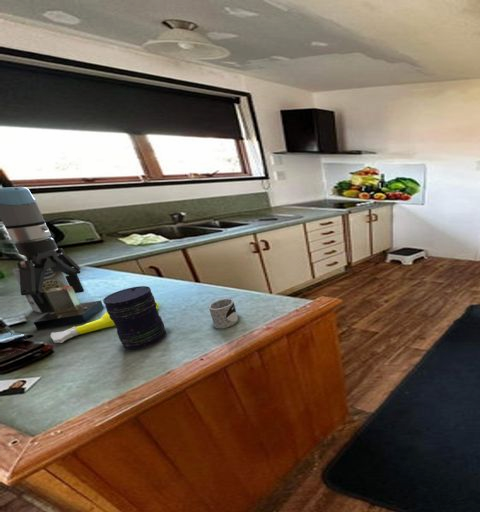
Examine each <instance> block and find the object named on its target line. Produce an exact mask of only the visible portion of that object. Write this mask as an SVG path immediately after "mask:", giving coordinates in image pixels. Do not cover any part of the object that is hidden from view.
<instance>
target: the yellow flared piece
mask: <svg viewBox="0 0 480 512" xmlns="http://www.w3.org/2000/svg"><path fill="white" fill-rule="evenodd" d="M155 302H156V308H157V310H159V308H160V306H159V303H158V302H157V301H156V300H155ZM113 327H116V326H115V324H114V322H113V320H111V318H110V317H109V314H108V312H107V311H106V312H105V313H103V315H102V316H101V317H100V318H98V319H96V320H93V321H90V322H87V323H84V324H83V325H82V324H81V325H77V326H72V327H70V328H68V329H66V330H64V331H57V332H54V331H53V332H51V333H50V338H51V340H52V341H53V343H56V344H57V343H58V344H62V343H64V342H65V341H67V340H69V339H71V338H74V337H76V336H79V335H83V334H87V333H90V332H95V331H98V330H99V331H100V330H103V329H108V328H113Z"/></svg>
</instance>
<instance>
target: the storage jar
mask: <svg viewBox="0 0 480 512" xmlns="http://www.w3.org/2000/svg"><path fill="white" fill-rule="evenodd" d="M155 299H156V298H155V296H154V294H153V292H152V290H151V287H150V286H145V285H141V286H139V285H138V286H132V287H128V288H123V289H121V290H117V291H115V292H112V293H111V294H108V295H107V296H105V297H104V298H103V299H102V303H103V305H104V307H105V309H106V312H108V314H109V317H110V318H111V320H113V322H114V324H115V326H114V327H115V328H116V334H117V336H118V339H119V342H121V345H123V346H122V347H123V349H124V351H126V352H127V351H128V352H134V351H140V350H144V349H147V348H150V347H152V346H154V345H156V344H158V343H159V342H161V341H162V340H163V339H165V338H166V336H167V334H168V333H167V330H166V327H165V323H164V321H163V319H162V316H160V314H159V311H158V309H157V308H156V302H157V301H156V300H155ZM155 301H156V302H155Z"/></svg>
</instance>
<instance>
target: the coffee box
mask: <svg viewBox="0 0 480 512" xmlns="http://www.w3.org/2000/svg"><path fill="white" fill-rule="evenodd" d="M11 272H12V273H13V274H14V277H15V279H16V280H17V282H18V285H20V271H19V268H13V269H11ZM66 286H69V284H68V282H67V279H66V277H65V275H64V273H63V272H61V271H59V270H58V269H56V268H54V267H51V268H49V269H48V270H47V272H45V276H44V282H43V287H42V292H44V291H45V292H46V291H48V290H49V289H54V288H62V287H66ZM27 291H28V290H27ZM24 296H25V298H26V299H27V302H28V303H29V306H30V308H31V309H32V311H33V312H36V313H40V314H42V313H41V311H40V309H39V307H38V306H37V304H36V303H35V302H34V300H33V298H32V296H31V295H24Z"/></svg>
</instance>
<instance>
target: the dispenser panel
mask: <svg viewBox="0 0 480 512" xmlns="http://www.w3.org/2000/svg"><path fill="white" fill-rule="evenodd" d="M80 304H81V306H82V307H81V308H80V309H79V310H77V311H71V312H65V313H58V314H56V313H55V311H51V312H46V313H45V314H44V315H43V316H41V317H39V318H38V319H36V320H35V321H33V323H32V324H33V325H34V327H35V328H36V330H37V331H42V330H48V329H55V328H60V327H66V326H67V327H68V326H72V325H78V324H86V322H87V323H88V321H90V320H91V319H92V318H93V317H94V316H96V315H97V314H98V313H99V312H101V311H102V310H103V309H104V308H105V306H104V303H103V301H102V300H96V301H95V300H93V301H88V302H82V303H81V302H80Z"/></svg>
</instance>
